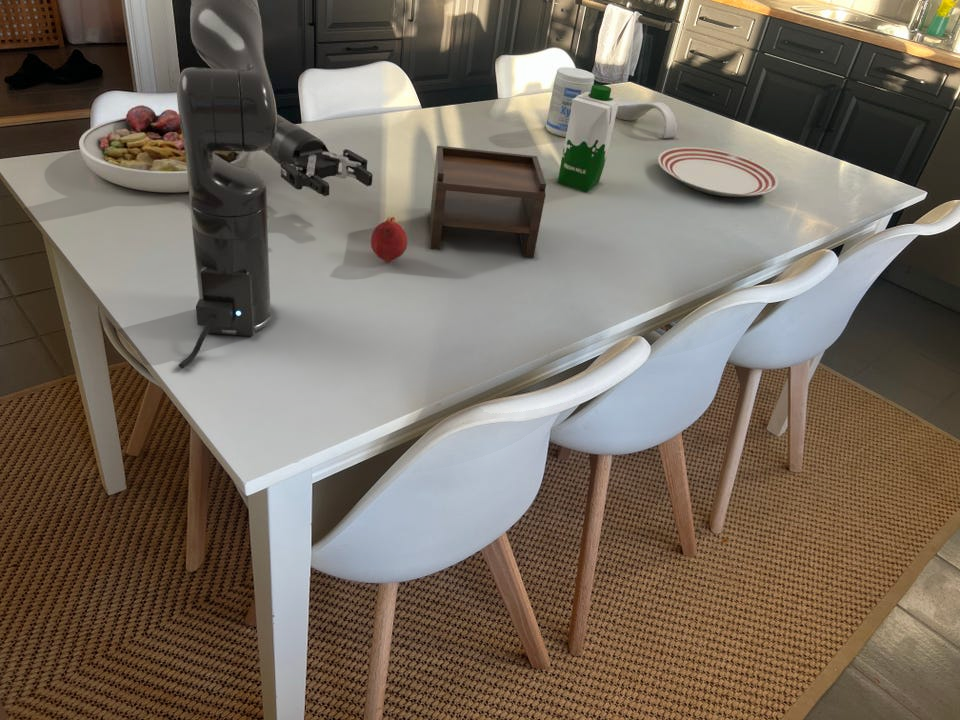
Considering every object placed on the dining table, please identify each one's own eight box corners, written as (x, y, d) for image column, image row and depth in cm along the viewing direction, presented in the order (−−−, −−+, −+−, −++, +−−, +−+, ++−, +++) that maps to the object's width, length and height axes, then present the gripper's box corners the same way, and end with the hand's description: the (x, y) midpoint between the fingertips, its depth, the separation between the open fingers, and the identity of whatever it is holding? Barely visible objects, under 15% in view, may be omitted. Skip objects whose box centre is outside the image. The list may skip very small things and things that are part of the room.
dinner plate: (728, 215, 159) (733, 200, 157) (631, 168, 175) (634, 154, 173) (796, 194, 175) (801, 181, 173) (701, 153, 191) (705, 140, 189)
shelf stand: (533, 258, 131) (547, 186, 124) (430, 248, 129) (437, 175, 122) (525, 223, 143) (537, 155, 135) (430, 214, 140) (436, 145, 133)
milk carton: (603, 183, 165) (625, 90, 154) (589, 195, 158) (611, 99, 147) (567, 172, 168) (586, 80, 156) (551, 183, 161) (569, 88, 150)
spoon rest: (594, 111, 209) (600, 85, 205) (625, 108, 216) (631, 82, 211) (654, 141, 194) (662, 113, 190) (685, 137, 201) (693, 110, 196)
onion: (399, 273, 121) (403, 227, 116) (365, 266, 121) (367, 220, 117) (409, 257, 125) (413, 213, 121) (376, 250, 126) (378, 206, 121)
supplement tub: (558, 139, 185) (570, 78, 177) (538, 126, 192) (548, 66, 184) (590, 137, 190) (603, 77, 181) (569, 124, 196) (581, 66, 188)
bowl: (284, 181, 144) (284, 141, 140) (128, 213, 126) (121, 168, 121) (206, 130, 160) (203, 93, 156) (56, 152, 142) (48, 110, 137)
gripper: (258, 135, 127) (312, 172, 118) (330, 123, 135) (385, 156, 127) (260, 177, 131) (312, 215, 123) (329, 162, 140) (382, 197, 131)
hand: (349, 185), depth 125 cm, fingers open, 8 cm apart
